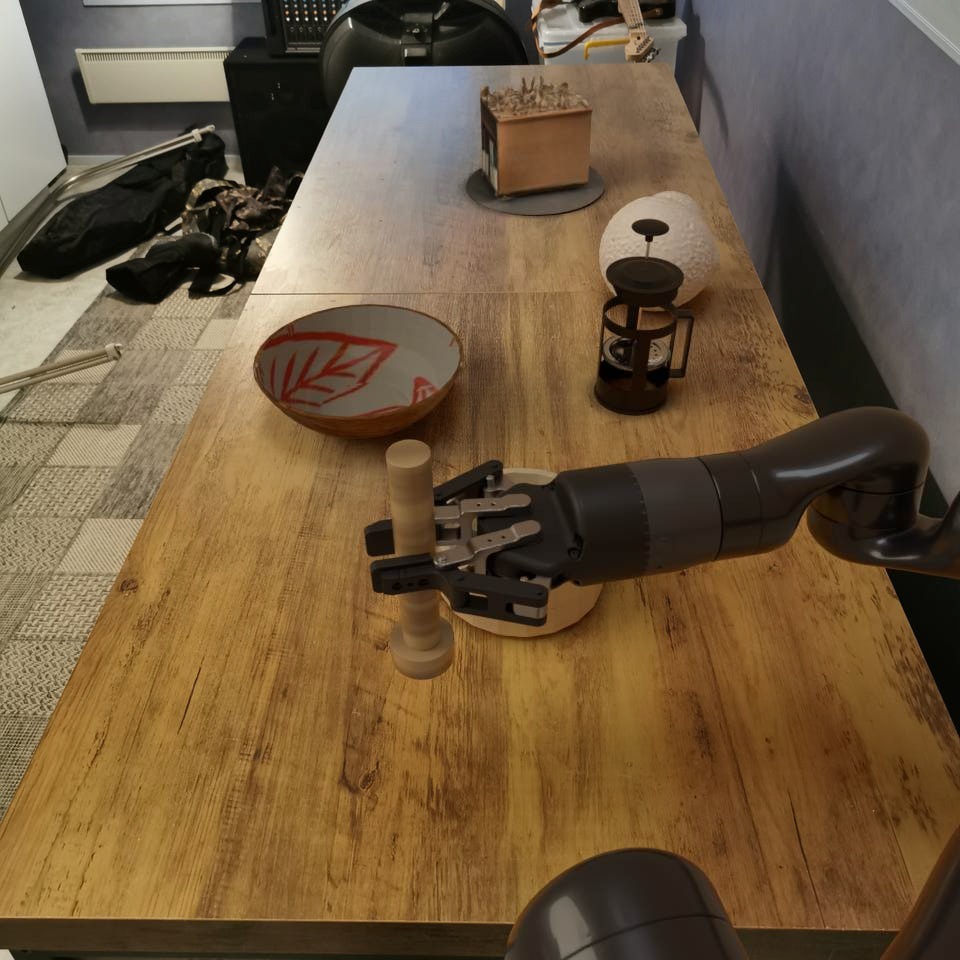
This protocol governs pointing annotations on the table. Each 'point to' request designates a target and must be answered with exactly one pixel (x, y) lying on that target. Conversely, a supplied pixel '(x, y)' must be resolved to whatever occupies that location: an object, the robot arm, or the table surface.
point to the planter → (535, 151)
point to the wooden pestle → (421, 630)
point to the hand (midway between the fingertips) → (369, 559)
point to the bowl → (359, 368)
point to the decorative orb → (665, 241)
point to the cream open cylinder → (562, 602)
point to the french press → (635, 348)
